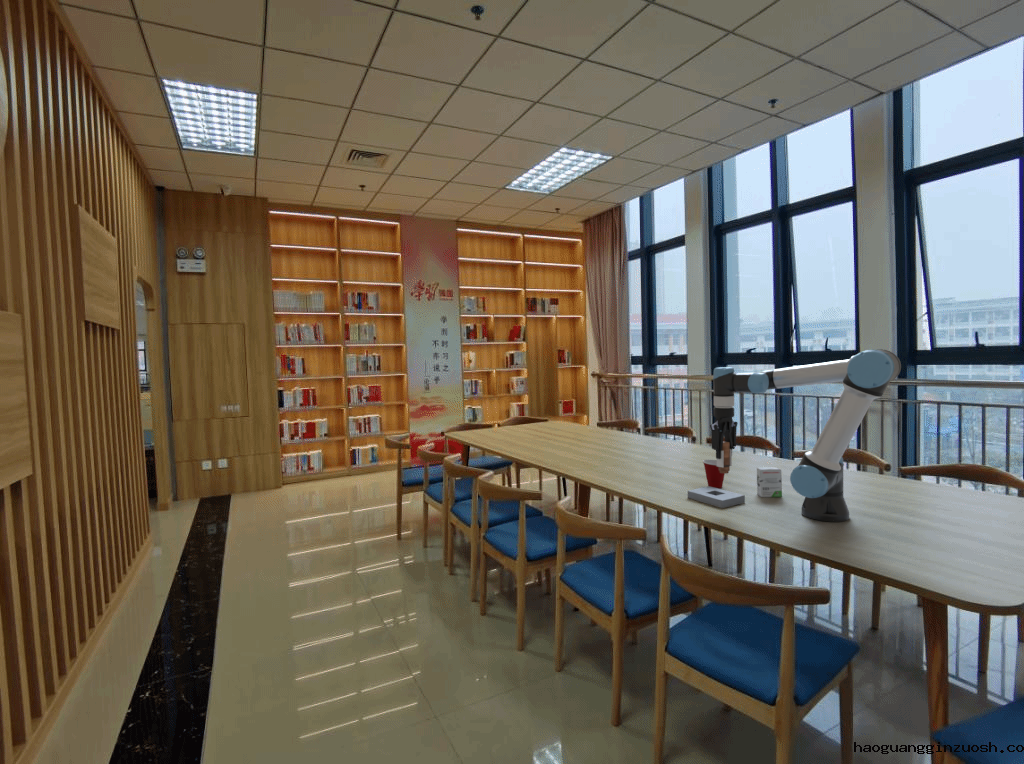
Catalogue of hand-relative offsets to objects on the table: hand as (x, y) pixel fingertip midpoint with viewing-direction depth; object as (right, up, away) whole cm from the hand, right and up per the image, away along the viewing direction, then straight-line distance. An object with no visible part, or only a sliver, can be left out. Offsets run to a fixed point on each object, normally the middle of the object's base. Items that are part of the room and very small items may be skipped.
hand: (724, 465), depth 205 cm
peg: (0, -3, 0) cm, 3 cm away
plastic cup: (+9, -15, +32) cm, 36 cm away
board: (+1, -16, +12) cm, 20 cm away
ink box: (+26, -15, +16) cm, 34 cm away
